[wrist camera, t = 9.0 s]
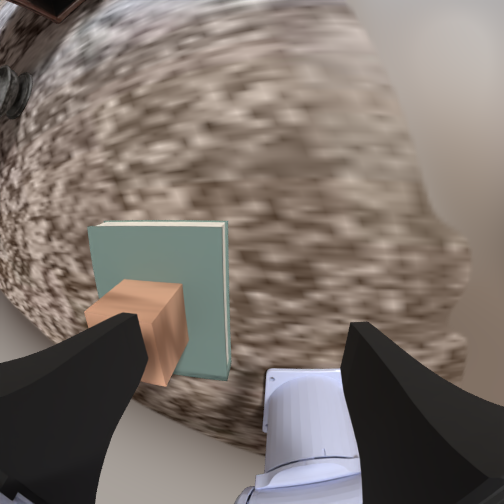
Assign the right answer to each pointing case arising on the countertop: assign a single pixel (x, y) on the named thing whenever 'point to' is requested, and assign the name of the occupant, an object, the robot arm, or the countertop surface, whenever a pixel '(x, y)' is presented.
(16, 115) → the salt shaker
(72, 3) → the letter holder
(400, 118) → the countertop surface
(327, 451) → the robot arm
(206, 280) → the book
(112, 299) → the block
